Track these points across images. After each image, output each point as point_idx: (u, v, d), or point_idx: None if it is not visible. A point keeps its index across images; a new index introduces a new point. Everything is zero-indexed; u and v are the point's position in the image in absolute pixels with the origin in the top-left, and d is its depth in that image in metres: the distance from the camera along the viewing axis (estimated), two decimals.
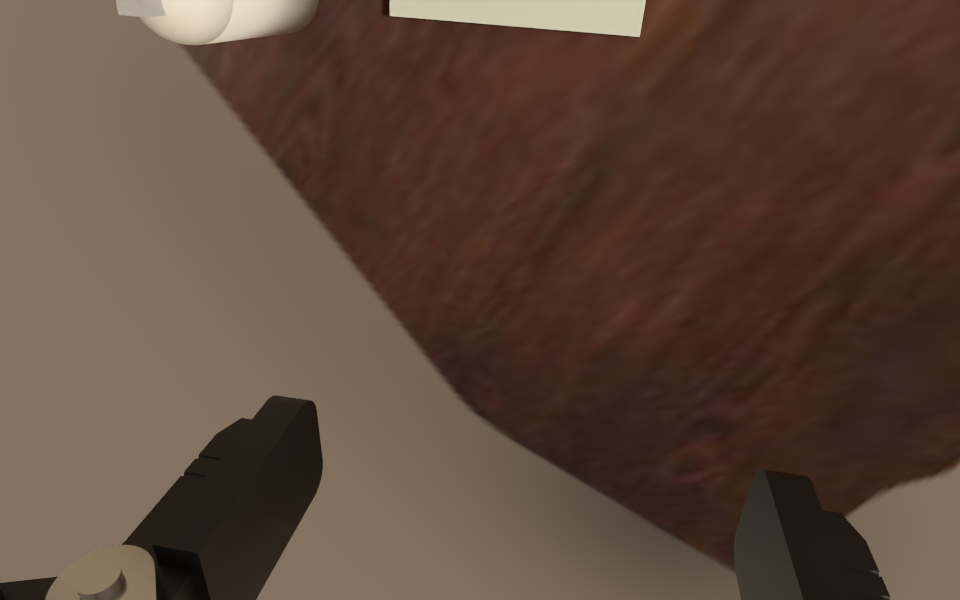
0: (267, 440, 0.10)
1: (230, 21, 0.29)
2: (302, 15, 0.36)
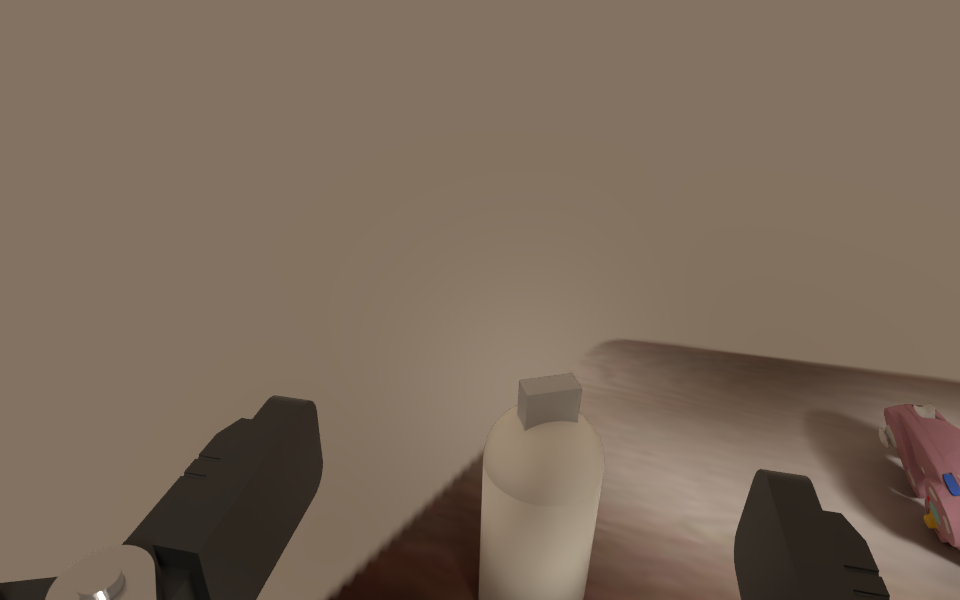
0: (267, 440, 0.10)
1: (529, 505, 0.24)
2: None
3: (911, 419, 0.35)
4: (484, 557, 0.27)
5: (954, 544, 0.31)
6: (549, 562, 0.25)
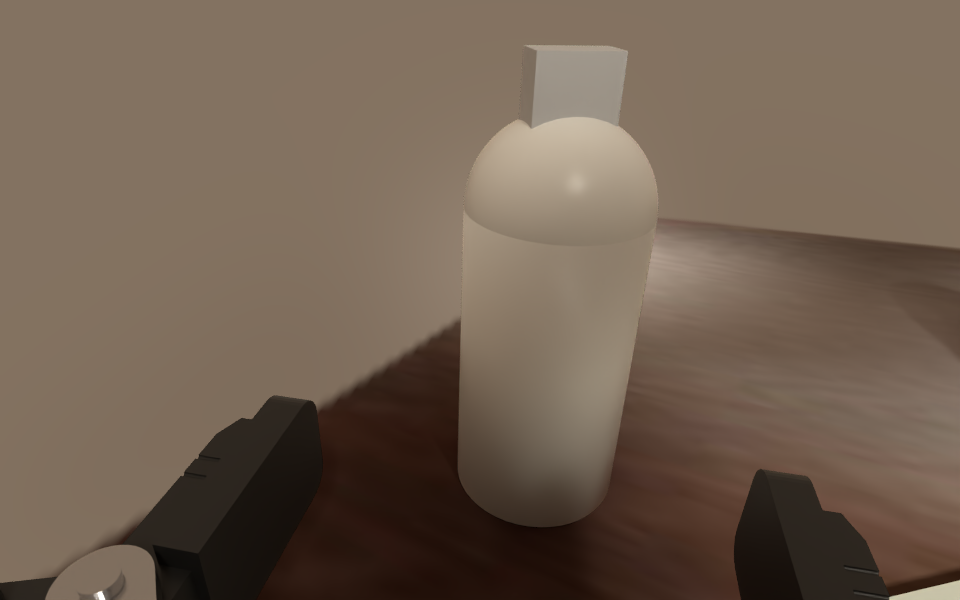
0: (267, 440, 0.10)
1: (537, 246, 0.14)
2: (517, 484, 0.18)
3: None
4: (465, 379, 0.18)
5: None
6: (568, 363, 0.16)
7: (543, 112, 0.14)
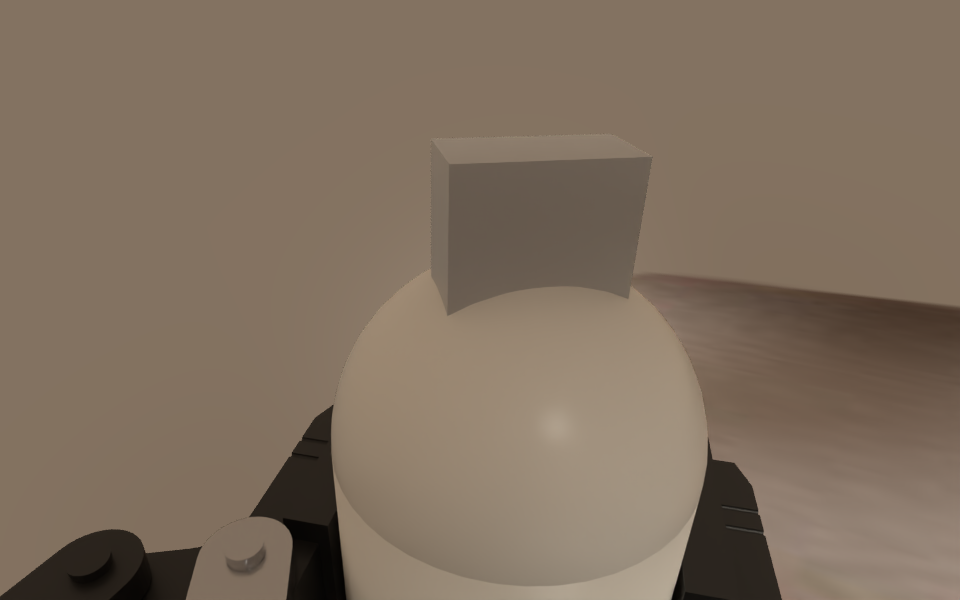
0: None
1: (457, 579, 0.07)
2: None
3: None
4: None
5: None
6: None
7: (471, 284, 0.07)
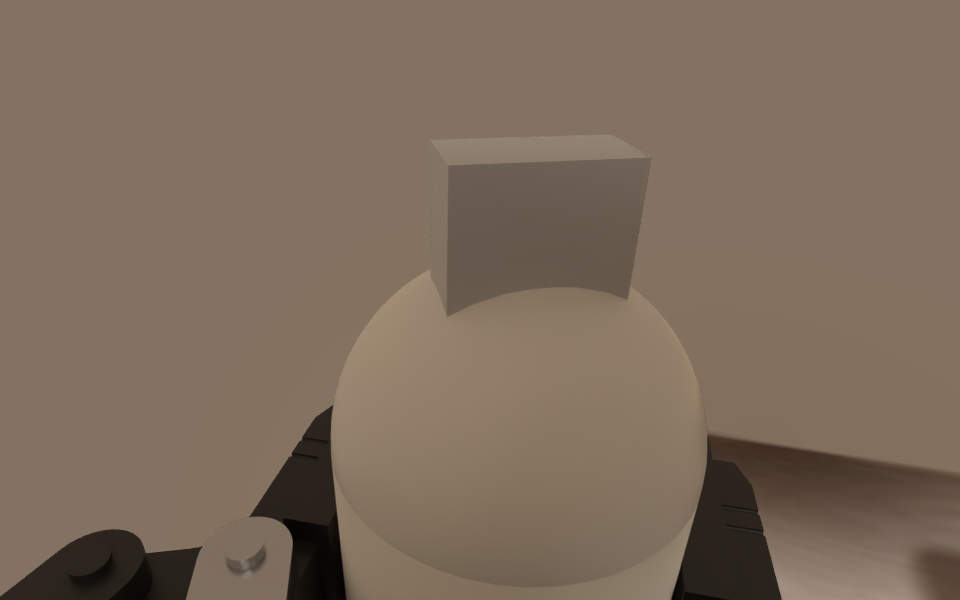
0: None
1: (456, 580, 0.07)
2: None
3: None
4: None
5: None
6: None
7: (471, 284, 0.07)
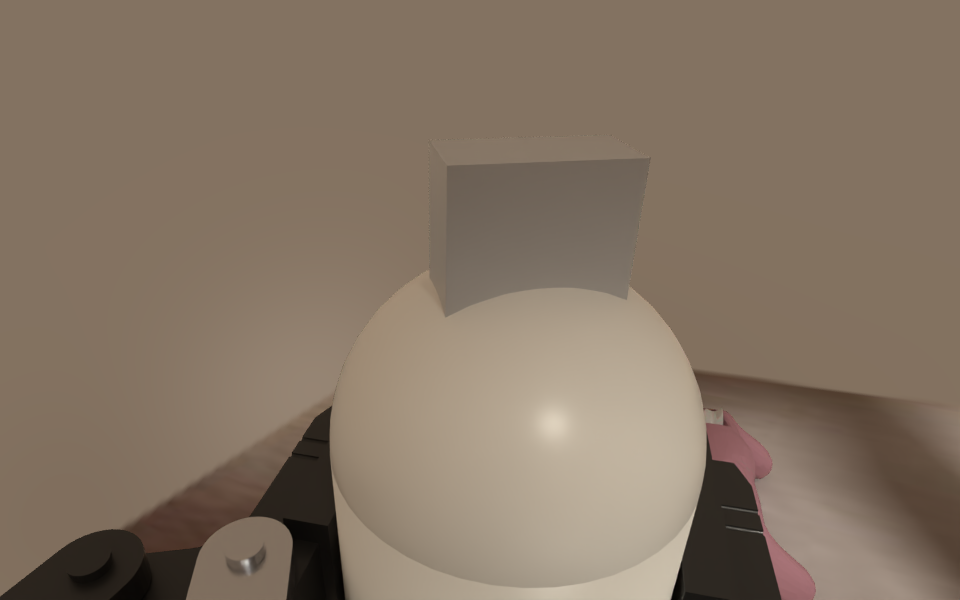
0: None
1: (455, 580, 0.07)
2: None
3: None
4: None
5: None
6: None
7: (469, 285, 0.07)
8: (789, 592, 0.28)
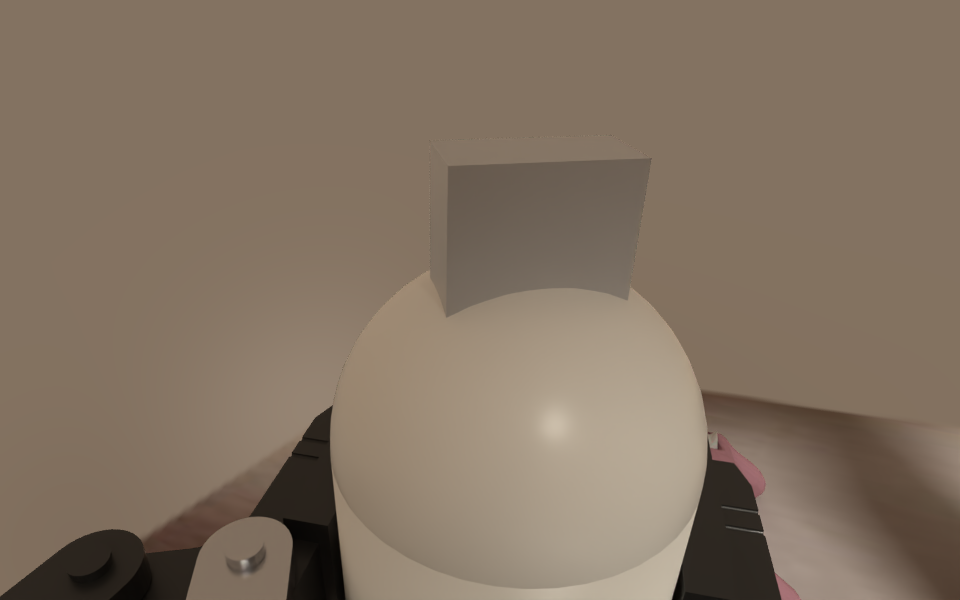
0: None
1: (456, 582, 0.07)
2: None
3: None
4: None
5: None
6: None
7: (470, 285, 0.07)
8: None
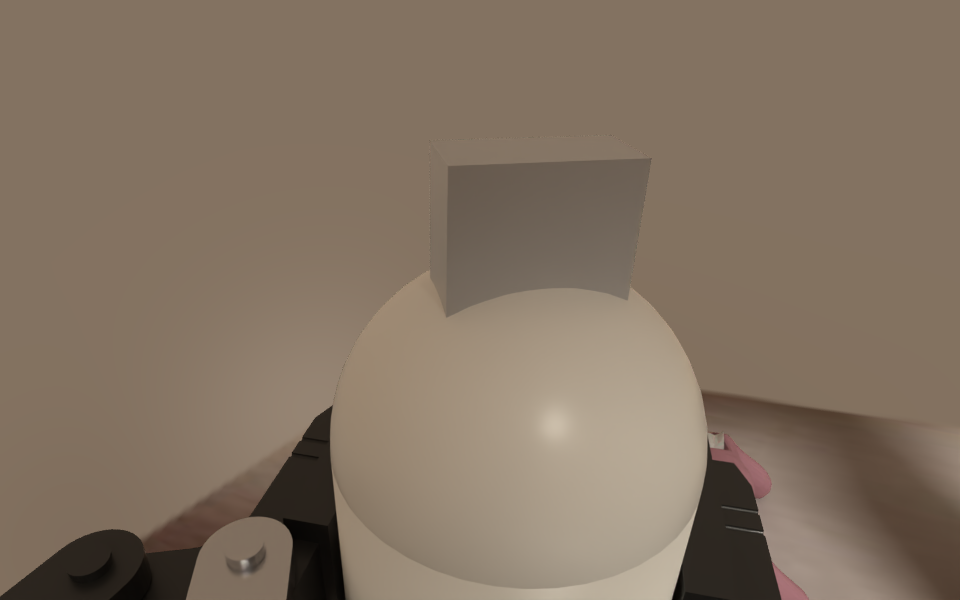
0: None
1: (456, 582, 0.07)
2: None
3: None
4: None
5: None
6: None
7: (470, 285, 0.07)
8: None
